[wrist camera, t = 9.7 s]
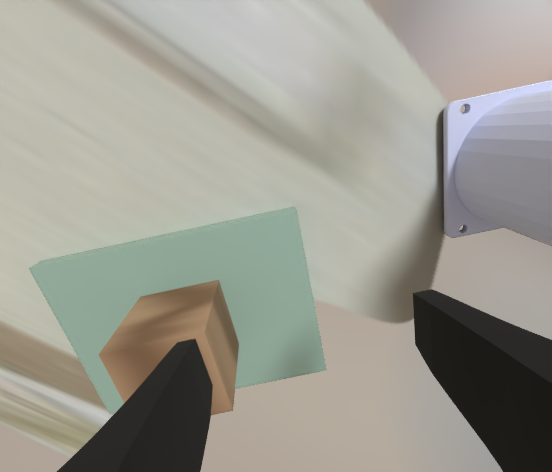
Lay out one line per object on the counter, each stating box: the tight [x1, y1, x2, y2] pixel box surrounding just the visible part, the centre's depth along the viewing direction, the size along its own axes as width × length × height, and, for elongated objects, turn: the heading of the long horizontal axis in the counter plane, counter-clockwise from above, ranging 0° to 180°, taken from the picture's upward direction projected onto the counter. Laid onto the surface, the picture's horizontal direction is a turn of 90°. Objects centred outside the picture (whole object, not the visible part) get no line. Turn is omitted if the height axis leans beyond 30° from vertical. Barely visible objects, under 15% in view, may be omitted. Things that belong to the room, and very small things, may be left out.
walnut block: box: [99, 280, 239, 415], centre depth 17 cm, size 5×5×5 cm
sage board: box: [29, 207, 326, 414], centre depth 19 cm, size 16×12×1 cm
